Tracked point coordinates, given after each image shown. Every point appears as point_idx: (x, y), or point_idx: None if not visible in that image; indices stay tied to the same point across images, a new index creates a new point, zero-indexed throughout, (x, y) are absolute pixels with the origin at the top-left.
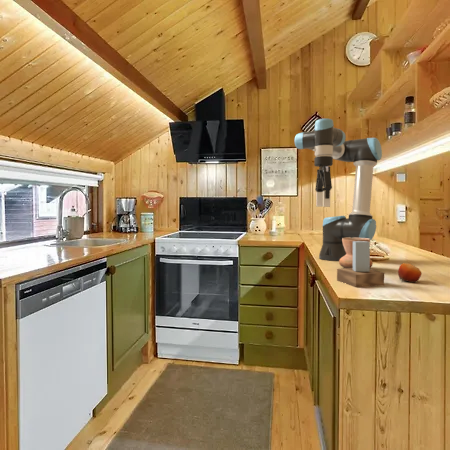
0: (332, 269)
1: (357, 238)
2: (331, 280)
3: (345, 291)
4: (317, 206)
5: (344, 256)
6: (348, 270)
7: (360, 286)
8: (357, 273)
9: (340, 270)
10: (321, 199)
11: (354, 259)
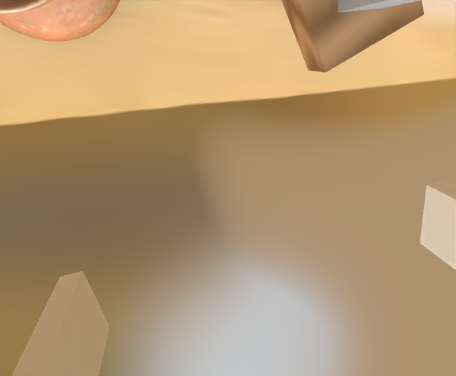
0: (102, 73)
1: None
2: (309, 87)
3: (437, 56)
4: (104, 320)
5: (49, 10)
6: (354, 32)
7: None
8: (405, 5)
9: (343, 61)
10: (59, 368)
11: (391, 4)
